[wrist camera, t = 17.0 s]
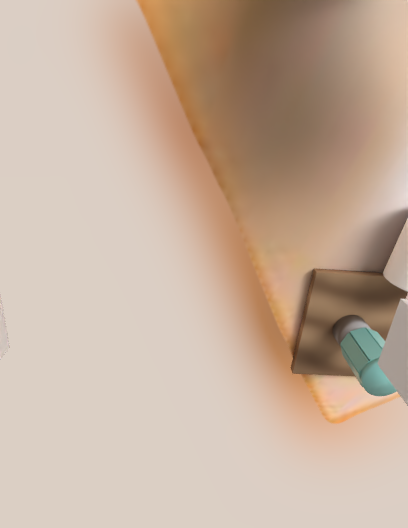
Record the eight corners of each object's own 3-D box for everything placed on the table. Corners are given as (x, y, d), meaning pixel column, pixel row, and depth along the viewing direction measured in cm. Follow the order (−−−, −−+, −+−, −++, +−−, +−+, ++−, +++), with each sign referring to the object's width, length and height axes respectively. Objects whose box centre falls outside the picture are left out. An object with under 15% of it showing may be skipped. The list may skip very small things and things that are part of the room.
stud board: (313, 268, 50) (339, 302, 41) (408, 274, 51) (452, 309, 42) (290, 368, 57) (308, 414, 48) (373, 371, 58) (405, 418, 49)
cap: (364, 364, 51) (389, 401, 44) (333, 352, 50) (354, 388, 43) (387, 336, 49) (416, 370, 42) (355, 322, 48) (380, 356, 41)
